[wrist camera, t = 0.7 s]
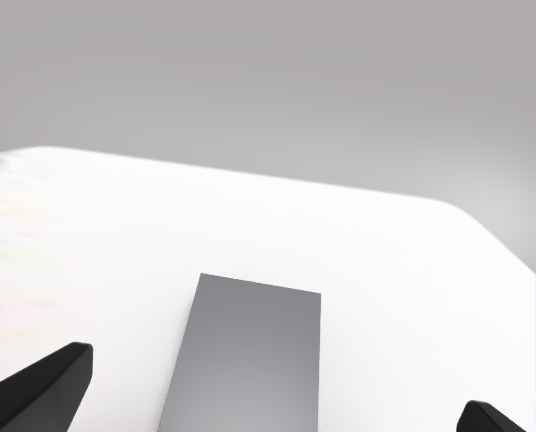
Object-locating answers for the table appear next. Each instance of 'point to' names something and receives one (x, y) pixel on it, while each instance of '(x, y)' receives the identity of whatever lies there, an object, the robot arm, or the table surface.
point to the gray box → (246, 360)
